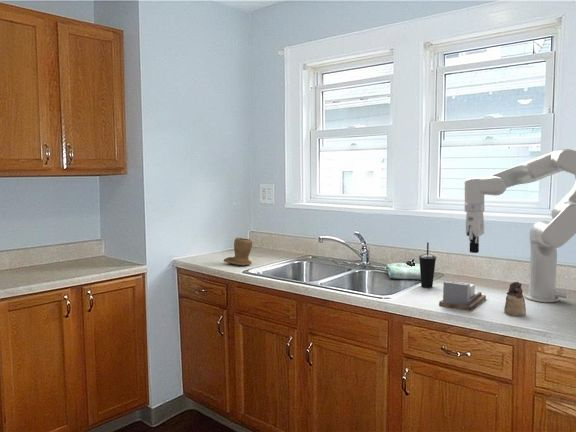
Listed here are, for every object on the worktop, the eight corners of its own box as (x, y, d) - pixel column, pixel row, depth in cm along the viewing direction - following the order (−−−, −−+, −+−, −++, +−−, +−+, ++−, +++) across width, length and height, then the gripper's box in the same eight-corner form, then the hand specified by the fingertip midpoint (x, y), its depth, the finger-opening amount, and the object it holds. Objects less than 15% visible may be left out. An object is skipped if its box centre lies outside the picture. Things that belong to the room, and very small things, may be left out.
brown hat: (257, 264, 269) (256, 237, 268) (241, 267, 261) (240, 240, 259) (238, 261, 280) (238, 235, 278) (223, 264, 271) (222, 237, 269)
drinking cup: (433, 289, 212) (434, 244, 210) (415, 287, 216) (416, 243, 214) (437, 285, 219) (438, 242, 217) (421, 283, 223) (421, 240, 221)
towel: (422, 271, 250) (422, 261, 249) (428, 281, 229) (429, 270, 228) (386, 270, 252) (386, 261, 252) (389, 280, 231) (390, 270, 231)
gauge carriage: (474, 296, 194) (474, 284, 193) (466, 302, 186) (467, 289, 186) (452, 293, 199) (453, 281, 199) (444, 298, 191) (444, 286, 191)
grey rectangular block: (469, 304, 184) (469, 284, 183) (466, 306, 182) (467, 285, 181) (445, 300, 189) (446, 280, 188) (443, 302, 187) (443, 282, 186)
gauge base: (485, 299, 197) (485, 292, 196) (470, 311, 181) (470, 304, 180) (456, 294, 204) (456, 288, 204) (439, 305, 188) (439, 298, 188)
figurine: (519, 310, 181) (520, 279, 179) (529, 316, 174) (531, 284, 172) (500, 311, 180) (502, 279, 179) (510, 317, 173) (511, 284, 172)
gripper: (478, 209, 189) (478, 256, 191) (489, 206, 201) (488, 250, 203) (459, 209, 193) (459, 254, 195) (470, 206, 205) (470, 249, 207)
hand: (474, 252), depth 199 cm, fingers closed
